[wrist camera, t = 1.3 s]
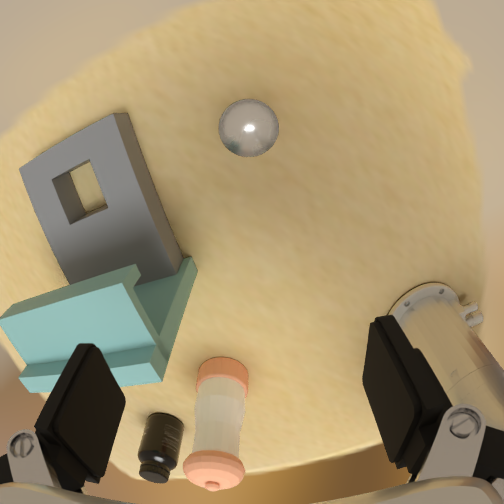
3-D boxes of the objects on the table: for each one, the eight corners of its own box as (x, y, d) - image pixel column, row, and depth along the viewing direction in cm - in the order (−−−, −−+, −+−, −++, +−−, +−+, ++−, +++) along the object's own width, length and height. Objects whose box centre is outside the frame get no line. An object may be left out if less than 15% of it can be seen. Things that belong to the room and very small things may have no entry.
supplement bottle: (141, 412, 49) (125, 466, 38) (176, 411, 49) (164, 469, 38) (156, 433, 52) (144, 484, 41) (189, 433, 52) (180, 487, 41)
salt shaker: (209, 393, 47) (195, 501, 29) (190, 361, 44) (166, 477, 26) (254, 385, 46) (254, 498, 28) (239, 352, 43) (232, 474, 25)
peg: (263, 101, 30) (268, 91, 19) (274, 137, 32) (286, 147, 21) (226, 113, 31) (210, 109, 20) (238, 148, 32) (229, 164, 21)
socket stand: (135, 109, 30) (34, 111, 14) (197, 271, 38) (162, 381, 22) (32, 165, 32) (-73, 208, 16) (93, 300, 40) (30, 392, 24)
